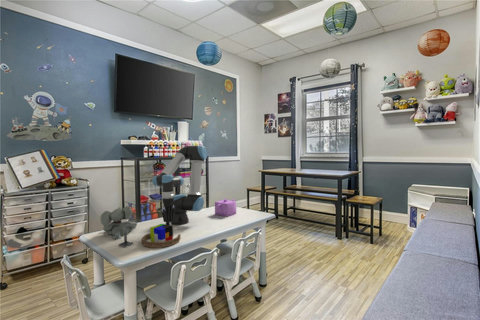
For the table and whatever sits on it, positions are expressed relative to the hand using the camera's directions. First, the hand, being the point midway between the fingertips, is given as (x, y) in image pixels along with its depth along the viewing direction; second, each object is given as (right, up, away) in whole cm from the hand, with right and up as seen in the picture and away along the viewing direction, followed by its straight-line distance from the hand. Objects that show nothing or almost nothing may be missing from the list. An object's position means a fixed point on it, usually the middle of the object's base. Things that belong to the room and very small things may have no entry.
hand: (169, 231), depth 179 cm
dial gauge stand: (-23, -5, -12) cm, 26 cm away
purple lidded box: (+36, -1, +64) cm, 74 cm away
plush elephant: (-39, -5, +10) cm, 40 cm away
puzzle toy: (-3, -5, -7) cm, 9 cm away
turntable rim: (-4, -5, -8) cm, 10 cm away
